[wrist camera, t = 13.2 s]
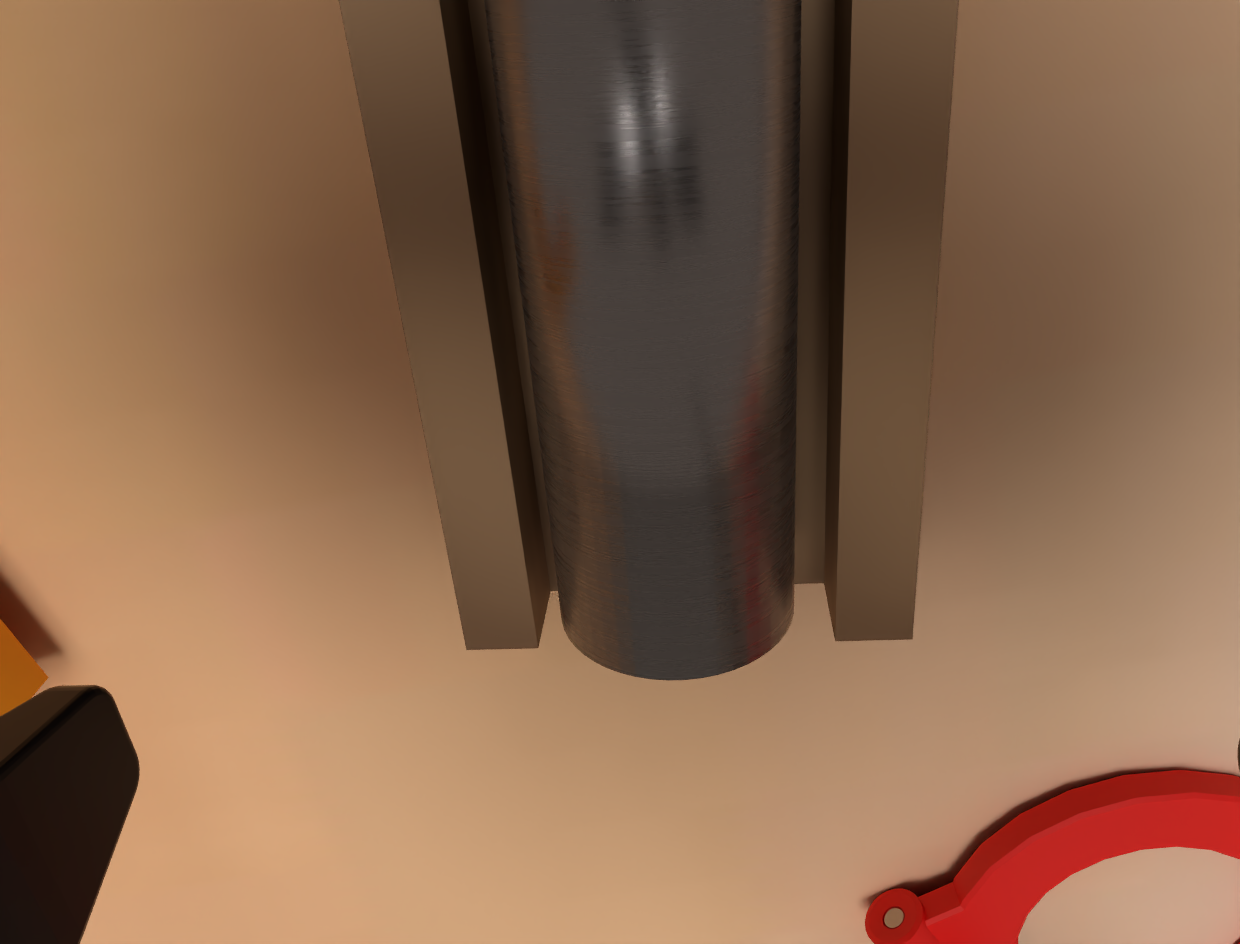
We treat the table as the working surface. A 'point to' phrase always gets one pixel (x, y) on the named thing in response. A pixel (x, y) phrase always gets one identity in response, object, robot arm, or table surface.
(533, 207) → the rod
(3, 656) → the bracket
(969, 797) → the table surface
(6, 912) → the robot arm
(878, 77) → the rail
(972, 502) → the table surface
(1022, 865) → the tow hook
